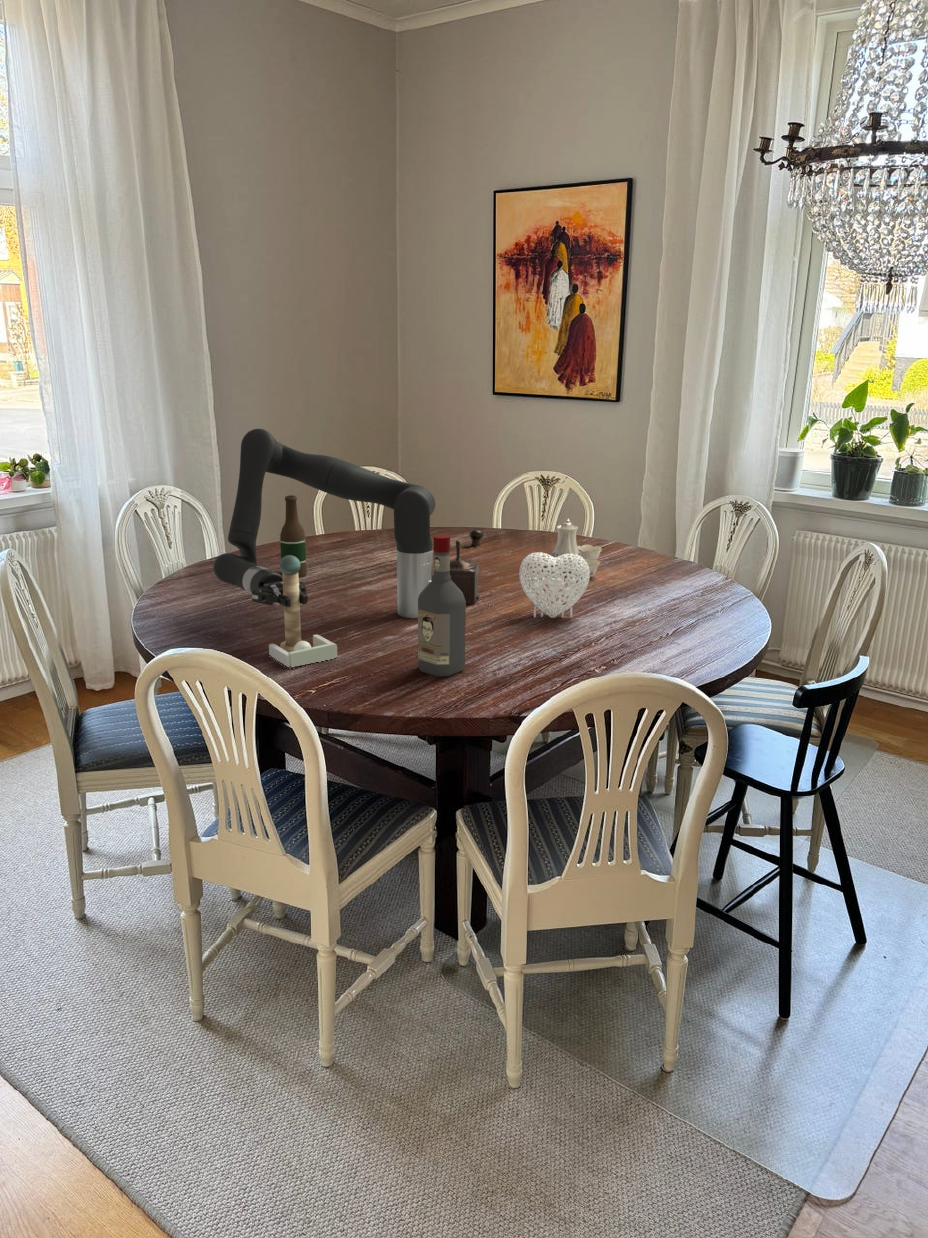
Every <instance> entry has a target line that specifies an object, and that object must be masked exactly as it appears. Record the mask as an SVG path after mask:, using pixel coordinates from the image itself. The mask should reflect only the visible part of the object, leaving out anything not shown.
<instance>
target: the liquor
mask: <svg viewBox="0 0 928 1238" xmlns="http://www.w3.org/2000/svg"><path fill="white" fill-rule="evenodd" d="M432 538H433V539H432V541H433V580H432V581H431V582H430V583H429V584H428V585H427V586H426V587H425V588H424V590H423V591H422V592H421V593H420V594H419V597H418V618H417V664H418V669H419V671H420V672H421V673H425V674H428V675H431V676H434V677H438V678H439V677H451V676H453V675H455V674H458V673H460V672H462V671H464V669H465V668H466V615H467V613H466V611H467V610H466V608H467V605H466V601H465V598H464V595H463V593H462V591H461V590H460V589H459V588H458V587H457V586H456V585H455V584H454V583H453V582H452V580H451V576H450V561H451V560H450V557H451V556H450V555H451V554H450V552H451V536H450V535H448V534H435V535H433V537H432Z"/></svg>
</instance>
